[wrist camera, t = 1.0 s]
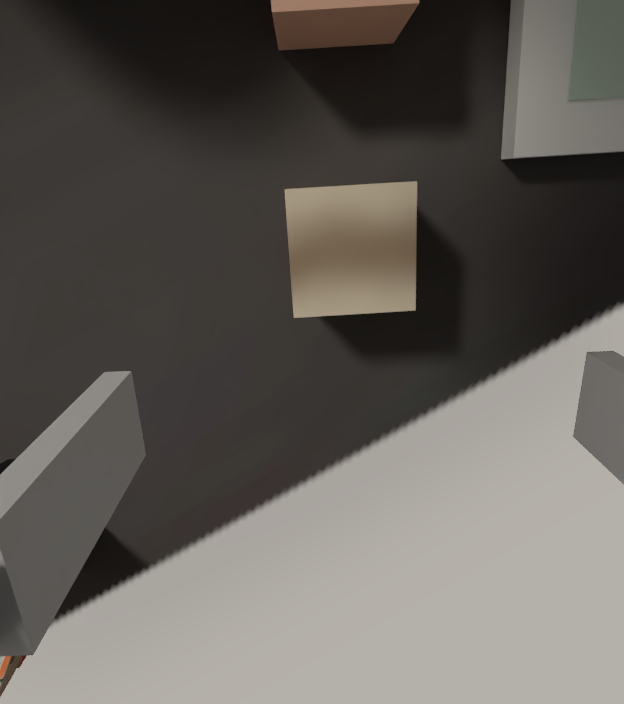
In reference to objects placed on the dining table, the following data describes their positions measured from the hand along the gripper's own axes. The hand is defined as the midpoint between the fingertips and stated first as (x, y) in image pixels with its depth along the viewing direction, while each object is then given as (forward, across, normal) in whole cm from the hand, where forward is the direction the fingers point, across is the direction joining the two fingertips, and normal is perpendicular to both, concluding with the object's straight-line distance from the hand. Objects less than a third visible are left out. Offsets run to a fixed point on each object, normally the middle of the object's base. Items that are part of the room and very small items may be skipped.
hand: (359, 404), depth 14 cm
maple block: (+21, +1, +2) cm, 21 cm away
